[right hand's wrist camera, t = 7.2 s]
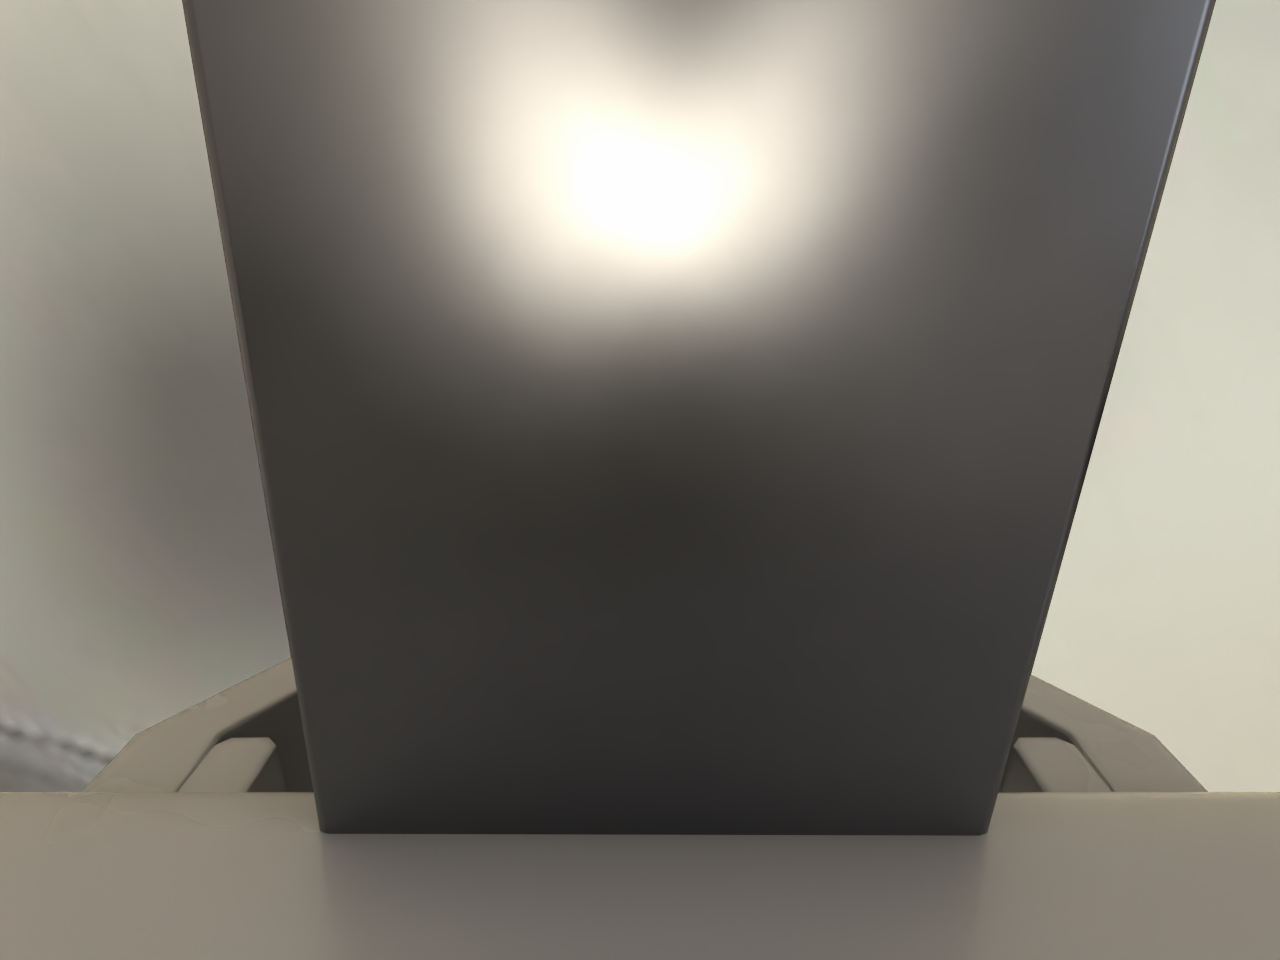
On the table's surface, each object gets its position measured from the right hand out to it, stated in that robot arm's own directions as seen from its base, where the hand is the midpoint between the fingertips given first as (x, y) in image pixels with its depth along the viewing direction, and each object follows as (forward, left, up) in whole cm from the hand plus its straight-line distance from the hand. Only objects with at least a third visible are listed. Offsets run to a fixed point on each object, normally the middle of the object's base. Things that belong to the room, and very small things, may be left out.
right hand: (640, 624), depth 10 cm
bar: (+3, +10, -4) cm, 11 cm away
